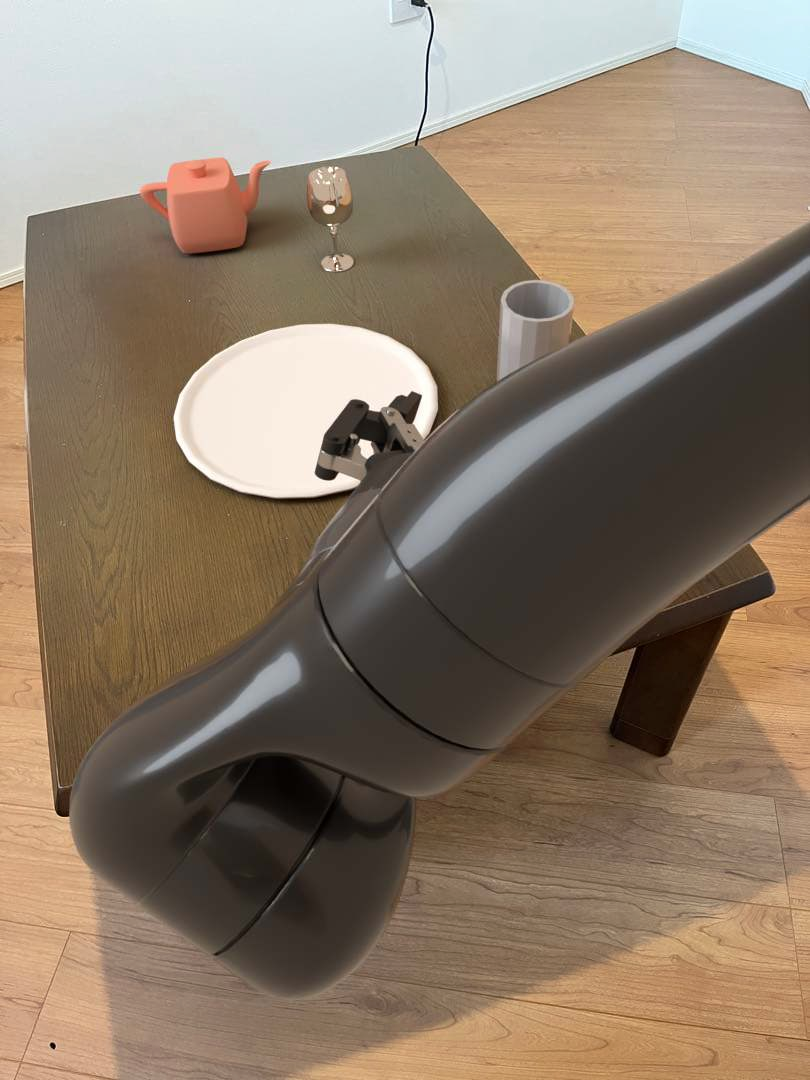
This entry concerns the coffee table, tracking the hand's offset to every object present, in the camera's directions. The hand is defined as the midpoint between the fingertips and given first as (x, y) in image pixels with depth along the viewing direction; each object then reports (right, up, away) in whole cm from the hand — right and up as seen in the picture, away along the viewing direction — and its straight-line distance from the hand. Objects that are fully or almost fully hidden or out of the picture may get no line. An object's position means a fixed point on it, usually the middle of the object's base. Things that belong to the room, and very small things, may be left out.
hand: (474, 430), depth 53 cm
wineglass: (-14, +30, +59) cm, 67 cm away
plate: (-15, +7, +40) cm, 43 cm away
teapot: (-31, +36, +65) cm, 80 cm away
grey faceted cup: (+10, +10, +40) cm, 43 cm away
